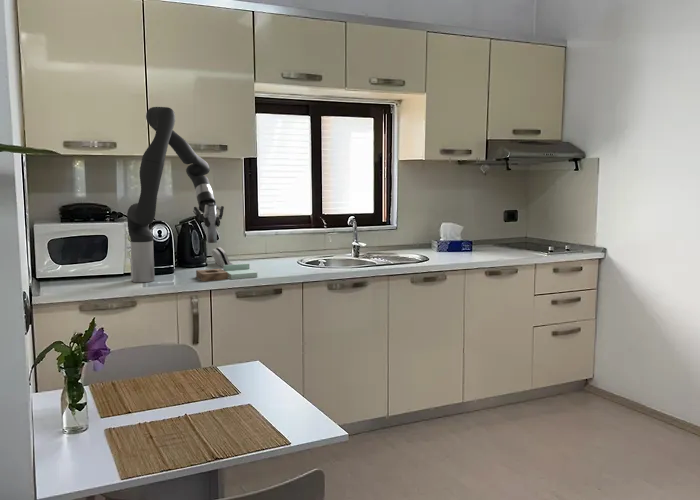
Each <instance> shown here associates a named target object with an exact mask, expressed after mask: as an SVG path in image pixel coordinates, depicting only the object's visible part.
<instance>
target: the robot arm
mask: <svg viewBox="0 0 700 500" xmlns="http://www.w3.org/2000/svg"><path fill="white" fill-rule="evenodd" d="M145 119H146V122H147V124H148V125H149V126H150V127H151V128H152V129H153V130H154V131H155V134H154V137H153V140H151V141H152V142H151V143H150V144H149V145H148V147H147V148H146V149H145V151H144V152H143V155H142V157H141V162H140V167H139V184H140V194H139V198H138V202H136V203H133V204H132V205H130V206H129V207H128V209H127V213H126V214H127V215H126V221H127V231H128V236H129V239H130V280H131V282H133V283H148V282H149V283H151V282H154V281H155V279H156V277H155V258H154V257H155V256H154V252H155V251H154V235H153V233H152V232H151V230H150V225H152V223H153V221H154V220H155V219H156V212H157V211H156V210H157V200H158V193H159V188H160V183H161V180H162V175H163V171H164V165H165V161H166V155H167V151H168V147H169V146H170V148H171V149H172V150H173V151H174V152H175V154H176V156H178V158H179V159H180V161H181V162H182V163H183V164H185V165H187V166H186V169H185V172H186V175H187V176H188V177H189V179H190V180H191V182H192V183H193V187H194V191H195V197H196V200H197V203H198V206H193V209H192V212H193V213H194V215H195V216H196V218H197V219H198V221H203V223H204V226H205V227H206V228H207V227H209V222H208V219H207V206H209V204H208V203H214V206H216V226H217V228H218V227H219V226H221V221H220V220H223V214H224V209H225V207H224V206H223V205H221V206H218V205H217V203H216V199H215V195H214V191H213V189H212V186H211V184H210V180H209V178H208V176H205V175H207V174H209V173H210V170H211V169H210V168H211V167H210V165H209V163H208V162H207V161H206V160H205V159H203V158H202V157H201V156H200V155H199V154H197V153H196V152H195V150H194V149H193V148H192V146H191V145H190V144H189V142H187V141H186V139H185V138H183V137H182V136H181V135H180V134H178V133H177V132H175V131H174V126H175V122H176V114H175V112H174V110H173V109H172V108H171V107H169V106H151V107H150V108H148V109H147V111H146V115H145ZM218 212H219V214H218Z"/></svg>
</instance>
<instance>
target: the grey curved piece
mask: <svg viewBox="0 0 700 500" xmlns="http://www.w3.org/2000/svg"><path fill="white" fill-rule="evenodd" d="M211 253H212V256H213V259H214V260H213V261H215V264H217V265H218V266H220V267H222V268H223V265H233V263H232V262H230V260H229V257H228V255H227V252H226V251H225V250H224V249H223V248H222V247H220V246H219V247H216V248H213V249H212V250H211Z"/></svg>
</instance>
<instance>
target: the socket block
mask: <svg viewBox="0 0 700 500" xmlns="http://www.w3.org/2000/svg"><path fill="white" fill-rule="evenodd" d="M195 273H196V274H195V275H196V277H195V278H197V279H198V280H200V281H202V282H208V281H209V282H210V281H221V280H224V281H225V280H228V279H229V278H228V272H226V271H224V270H223V269H222V268H214V269H211V268H210V269H199V270H198V269H196V270H195Z"/></svg>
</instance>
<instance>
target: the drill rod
mask: <svg viewBox="0 0 700 500" xmlns="http://www.w3.org/2000/svg"><path fill="white" fill-rule="evenodd" d="M208 204H209V206H207V219H208V222H209V227H206V230H207V233H206V235H207V236H206V238H207V240H206V241H207V243H208V244H217V242H218V237H217V236H218V233H217V232H218V231H217V230H218V229H217V228H218V227H217V225H216V211H217V210H216V206H214V203H208Z"/></svg>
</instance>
